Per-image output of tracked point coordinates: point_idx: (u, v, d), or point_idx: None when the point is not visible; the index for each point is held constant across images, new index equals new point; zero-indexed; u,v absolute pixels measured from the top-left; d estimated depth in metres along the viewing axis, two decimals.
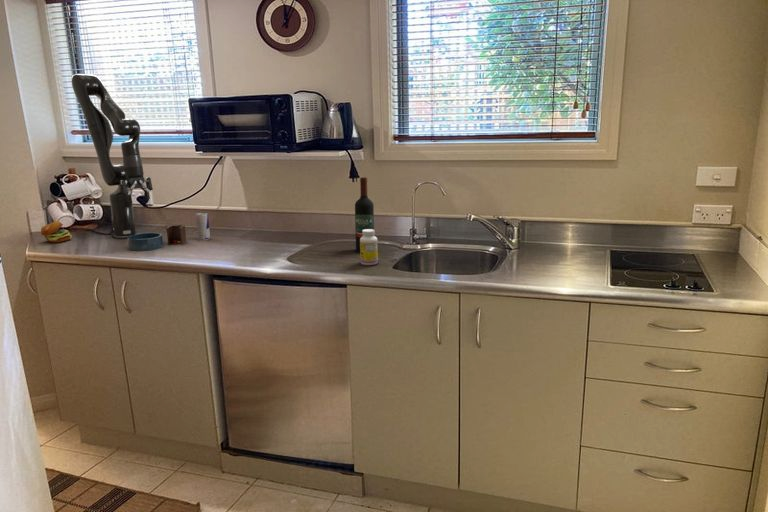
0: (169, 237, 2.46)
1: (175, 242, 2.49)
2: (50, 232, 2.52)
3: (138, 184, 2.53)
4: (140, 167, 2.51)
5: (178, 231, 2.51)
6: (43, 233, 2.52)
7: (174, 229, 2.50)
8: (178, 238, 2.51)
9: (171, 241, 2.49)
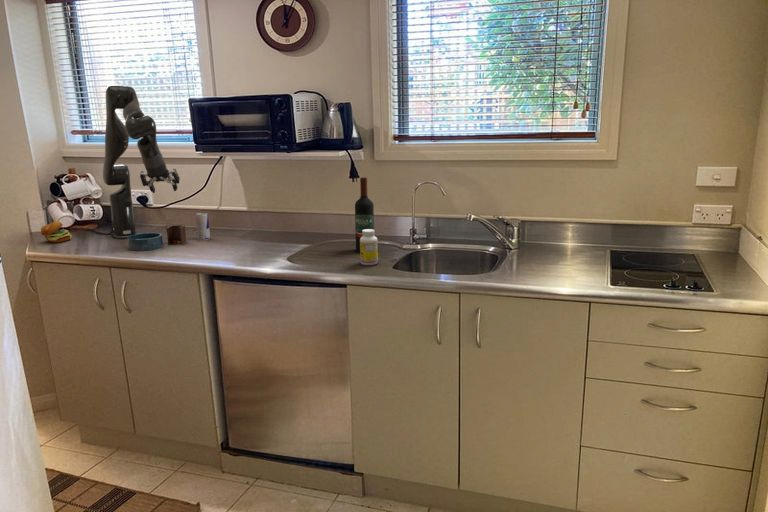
0: (169, 237, 2.46)
1: (175, 242, 2.49)
2: (50, 232, 2.52)
3: None
4: (156, 169, 2.22)
5: (178, 231, 2.51)
6: (43, 233, 2.52)
7: (174, 229, 2.50)
8: (178, 238, 2.51)
9: (171, 241, 2.49)
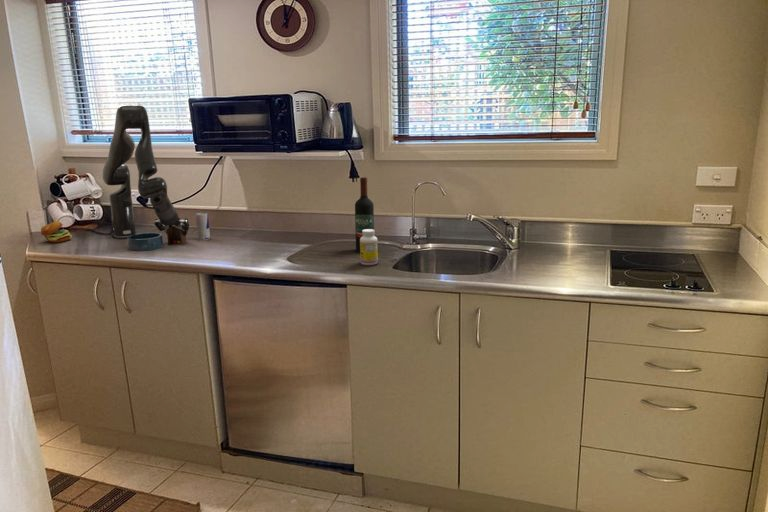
0: (169, 237, 2.46)
1: (175, 242, 2.49)
2: (50, 232, 2.52)
3: None
4: (167, 220, 2.35)
5: (178, 231, 2.51)
6: (43, 233, 2.52)
7: (174, 229, 2.50)
8: (178, 238, 2.51)
9: (171, 241, 2.49)
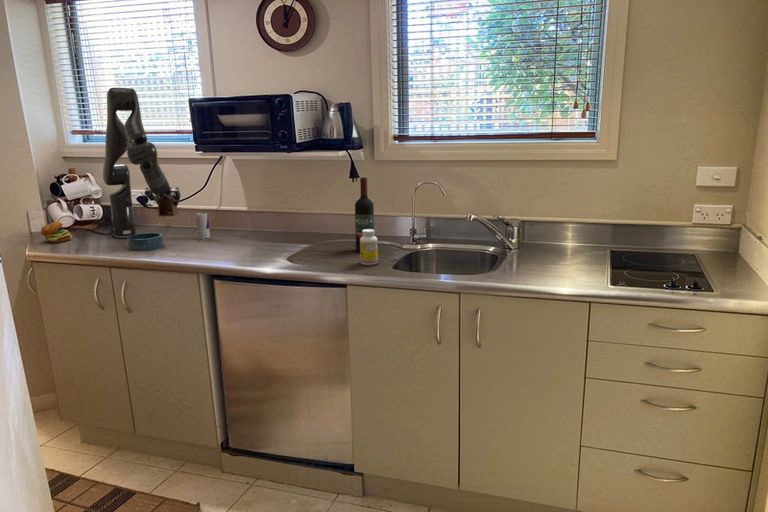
0: (159, 207, 2.41)
1: (166, 213, 2.44)
2: (50, 232, 2.52)
3: None
4: (158, 188, 2.30)
5: (169, 202, 2.46)
6: (43, 233, 2.52)
7: (165, 200, 2.45)
8: (169, 209, 2.46)
9: (162, 212, 2.44)
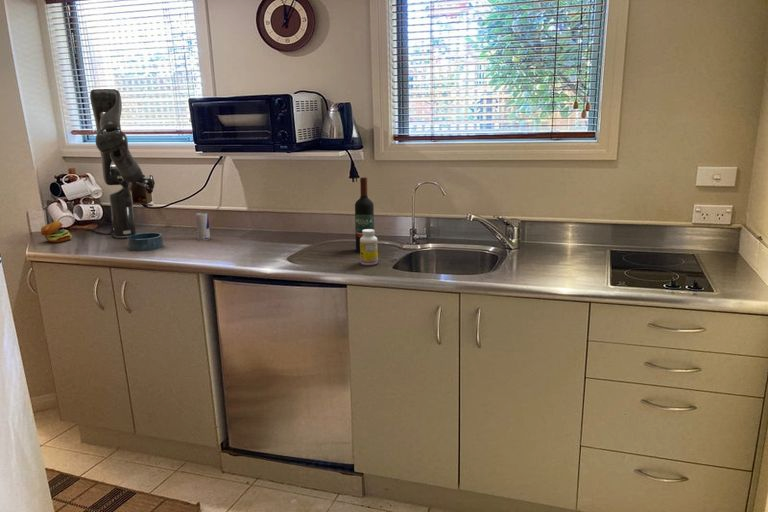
0: (133, 194, 2.33)
1: (140, 200, 2.36)
2: (50, 232, 2.52)
3: None
4: (130, 177, 2.21)
5: (143, 188, 2.37)
6: (43, 233, 2.52)
7: (139, 186, 2.36)
8: (143, 196, 2.38)
9: (136, 199, 2.36)
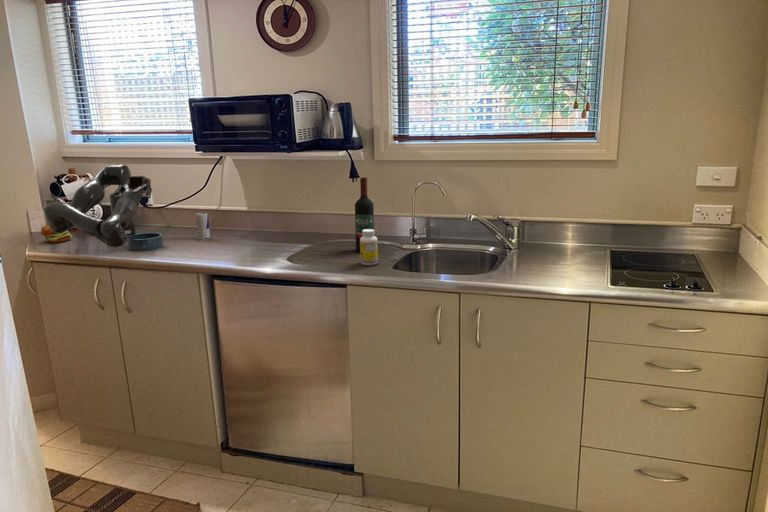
0: None
1: None
2: (50, 232, 2.52)
3: None
4: None
5: (138, 178, 2.34)
6: (43, 233, 2.52)
7: (133, 178, 2.33)
8: (141, 179, 2.37)
9: (136, 186, 2.38)
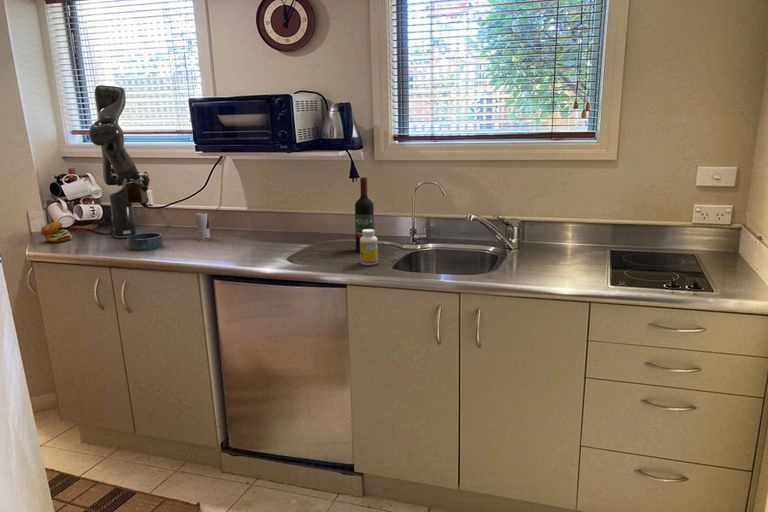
0: (128, 193, 2.31)
1: None
2: (50, 232, 2.52)
3: None
4: (124, 172, 2.20)
5: (139, 188, 2.36)
6: (43, 233, 2.52)
7: (134, 186, 2.35)
8: (139, 196, 2.36)
9: (131, 199, 2.34)
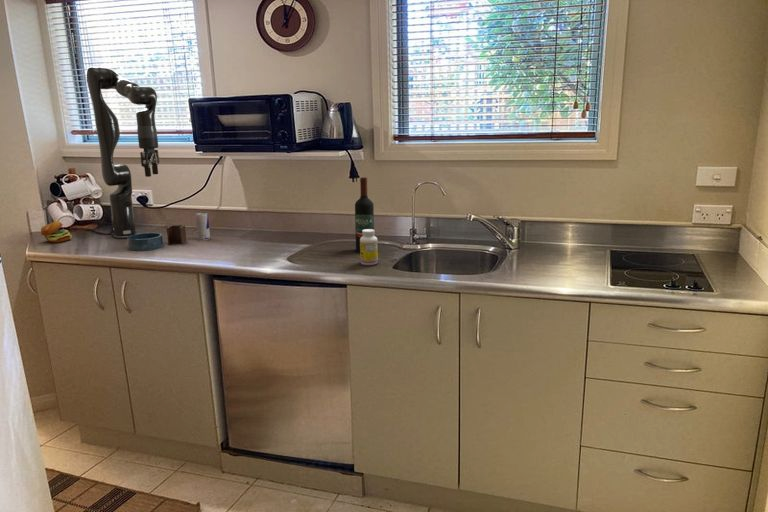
0: (169, 236, 2.46)
1: None
2: (50, 232, 2.52)
3: (152, 156, 2.41)
4: (157, 138, 2.40)
5: (178, 231, 2.51)
6: (43, 233, 2.52)
7: (174, 229, 2.50)
8: (178, 238, 2.52)
9: (171, 241, 2.49)
